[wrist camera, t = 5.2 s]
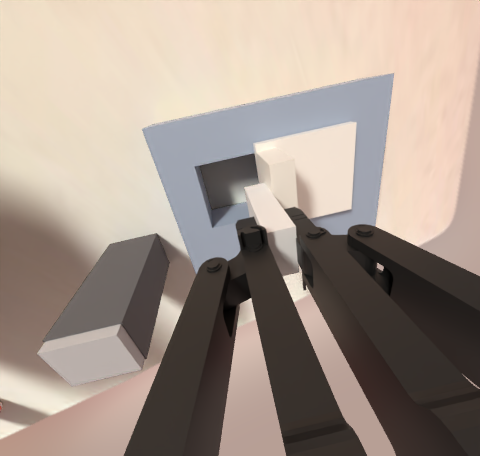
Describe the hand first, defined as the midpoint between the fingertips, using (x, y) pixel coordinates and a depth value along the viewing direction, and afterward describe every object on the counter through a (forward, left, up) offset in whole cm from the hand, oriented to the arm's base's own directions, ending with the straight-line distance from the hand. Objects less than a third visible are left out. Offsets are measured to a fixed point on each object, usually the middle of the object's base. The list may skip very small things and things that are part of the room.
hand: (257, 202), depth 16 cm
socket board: (+2, -1, -7) cm, 7 cm away
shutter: (+4, 0, -3) cm, 5 cm away
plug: (-13, -6, -7) cm, 15 cm away
